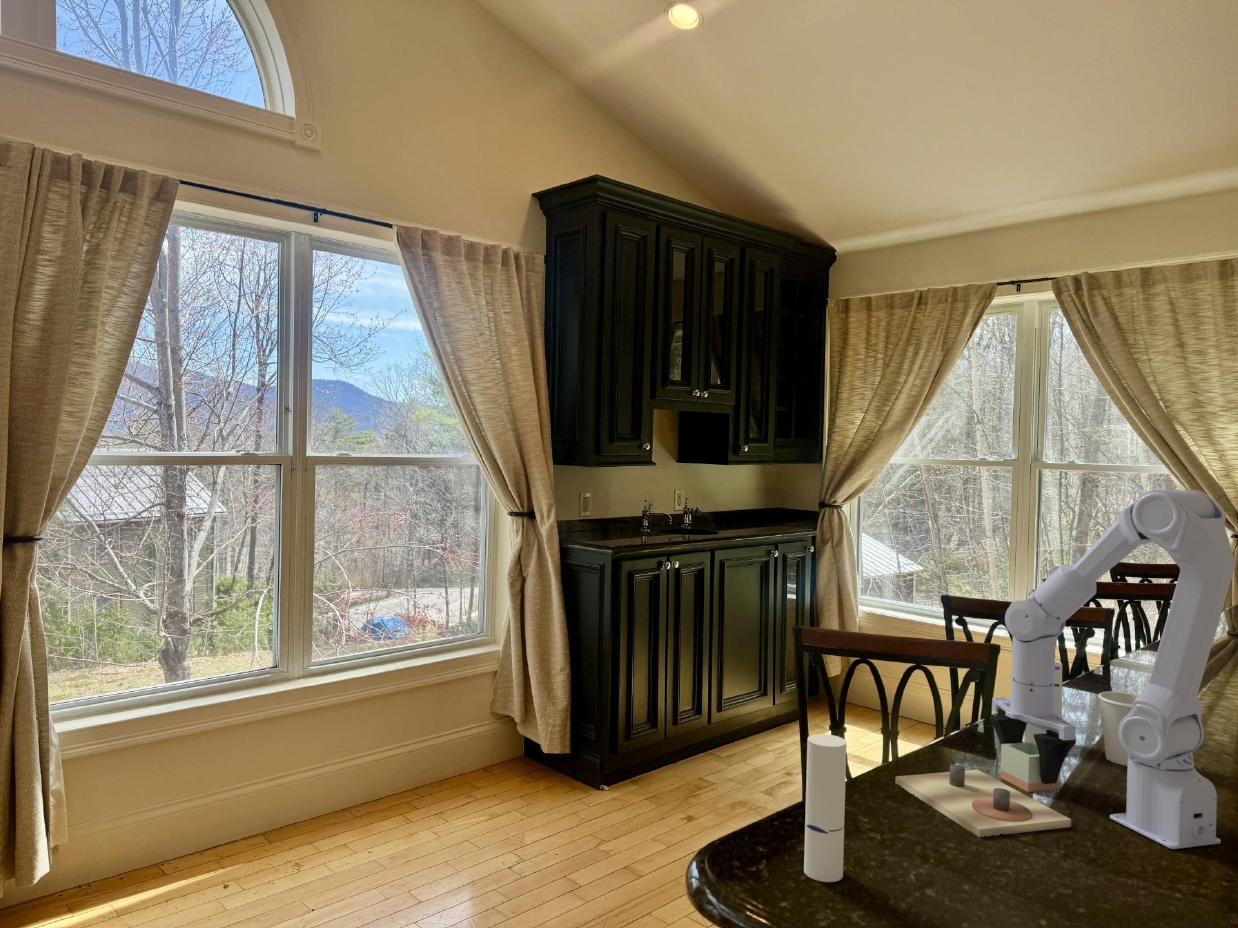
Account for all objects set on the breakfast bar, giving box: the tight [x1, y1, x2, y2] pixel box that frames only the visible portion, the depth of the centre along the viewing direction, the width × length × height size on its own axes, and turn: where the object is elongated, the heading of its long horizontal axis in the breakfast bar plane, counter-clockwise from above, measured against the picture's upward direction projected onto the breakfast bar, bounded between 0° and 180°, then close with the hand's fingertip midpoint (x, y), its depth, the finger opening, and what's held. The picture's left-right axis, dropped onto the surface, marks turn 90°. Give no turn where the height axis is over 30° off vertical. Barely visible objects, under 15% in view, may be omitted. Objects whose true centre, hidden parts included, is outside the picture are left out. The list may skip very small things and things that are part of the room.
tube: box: [803, 733, 847, 883], centre depth 96 cm, size 4×4×15 cm
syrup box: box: [1022, 658, 1063, 743], centre depth 143 cm, size 6×6×14 cm
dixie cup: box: [1097, 691, 1139, 767], centre depth 136 cm, size 8×8×10 cm
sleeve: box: [1000, 742, 1062, 793], centre depth 125 cm, size 6×6×5 cm
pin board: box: [894, 763, 1072, 838], centre depth 117 cm, size 18×14×4 cm
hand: (1030, 773), depth 125 cm, fingers open, 7 cm apart
